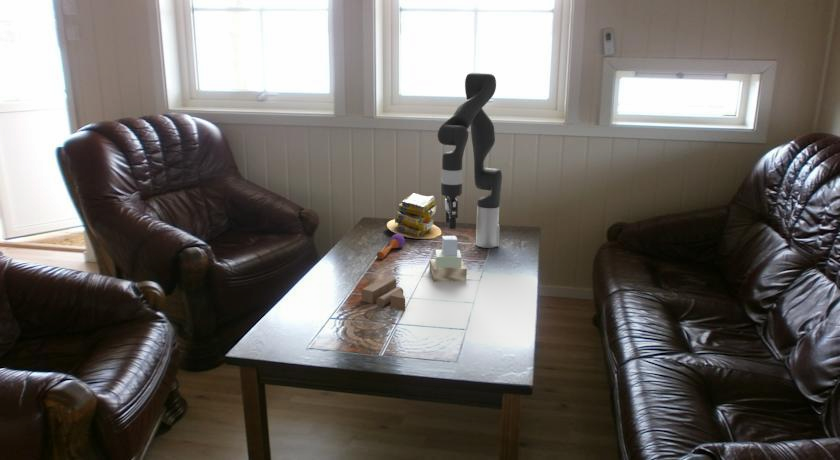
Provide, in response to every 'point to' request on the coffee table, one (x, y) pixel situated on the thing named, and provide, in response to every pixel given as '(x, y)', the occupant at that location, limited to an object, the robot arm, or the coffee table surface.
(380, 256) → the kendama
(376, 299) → the wooden block set
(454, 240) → the blue block
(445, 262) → the tower top
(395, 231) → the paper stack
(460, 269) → the tower base
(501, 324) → the coffee table surface
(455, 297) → the coffee table surface
